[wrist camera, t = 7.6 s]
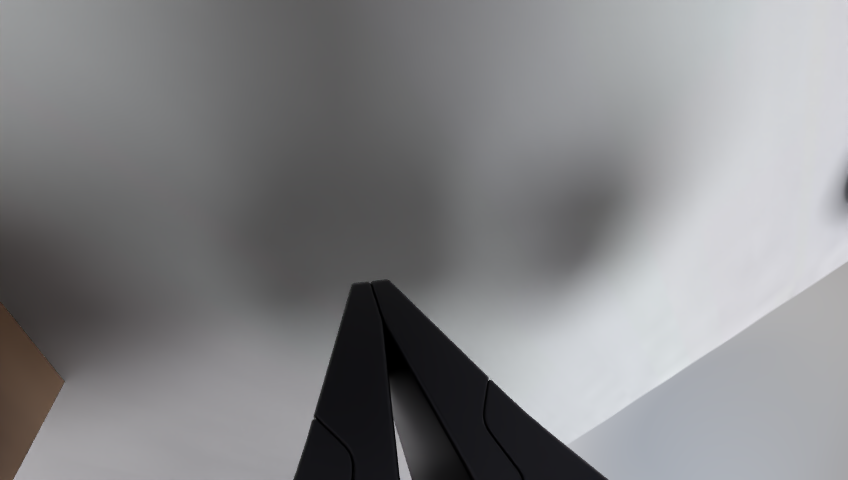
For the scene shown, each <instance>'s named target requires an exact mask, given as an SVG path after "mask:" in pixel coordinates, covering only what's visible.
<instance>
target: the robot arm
mask: <svg viewBox="0 0 848 480" xmlns="http://www.w3.org/2000/svg"><path fill="white" fill-rule="evenodd" d="M488 380H489V378H488V376H487V375H486V374H485V373H484V372H483V371H482V370H481V369H480V368H479V367H478V366H476V365H475V364H474V363H473V362H472V361H471V360H470V359H469V358H468V357H467V356H466V355H465V354H464V353H463V352H462V351H461V350H460V349H459V348H458V347H457V346H456V345H455V344H454V343H453V342H452V341H451V340H450V339H449V338H448V337H447V336H446V335H445V334H444V333H443V332H442V331H441V330H440V329H439V328H438V327H437V326H436V325H435V324H433V323H432V322H431V321H430V320H429V319H428V318H427V317H426V316H425V315H424V314H423V313H422V312H421V311H420V310H419V309H418V308H417V307H416V306H415V305H414V304H413V303H412V302H411V301H410V300H409V299H408V298H407V297H406V296H405V295H404V294H403V293H402V292H401V291H400V290H399V289H398V288H397V287H396V286H395V285H394V284H393V283H392V282H391V281H389V280H387V279H385V280H377V281H372V282H371V284H370V283H369V282H360V283H354V284H352V286H351V289H350V292H349V296H348V299H347V302H346V306H345V309H344V313H343V316H342V320H341V323H340V327H339V330H338V334H337V337H336V341H335V344H334V348H333V351H332V354H331V358H330V361H329V365H328V368H327V372H326V375H325V379H324V382H323V386H322V389H321V393H320V396H319V399H318V403H317V406H316V410H315V413H314V420H312V423H311V426H310V430H309V433H308V437H307V440H306V443H305V446H304V449H303V452H302V456H301V459H300V462H299V465H298V468H297V471H296V474H295V476H294V479H293V480H400V476H399V467H398V457H397V448H396V439H395V429H394V422H395V425H396V428H397V432H398V435H399V438H400V442H401V445H402V448H403V452H404V455H405V458H406V462H407V465H408V468H409V472H410V475H411V478H412V480H608V479H607V478H606V477H604V476H603V475H602V474H601V473H599V472H598V471H597V470H596V469H594V468H593V467H592V466H590V465H589V464H588V463H587V462H586V461H584V460H583V459H582V458H581V457H579V456H578V455H577V454H576V453H574V452H573V451H572V450H571V449H570V448H568V447H567V446H566V445H565V444H563V443H562V442H561V441H560V440H558V439H557V438H556V437H555V436H553V435H552V434H551V433H550V432H548V431H547V430H546V429H545V428H544V427H542V426H541V425H540V424H539V423H538V422H537V421H535V420H534V419H533V418H532V417H531V416H529V415H528V414H527V413H526V412H525V411H524V410H523V409H521V408H520V407H519V406H518V405H517V404H516V403H515V402H514V401H513V400H512V399H511V398H510V397H509V396H507V395H506V394H505V393H504V392H503V391H502V390H501V389H500V388H499V387H498V386H497V385H496V384H495V383H494V382H493V381H492V380H489V381H488ZM393 418H394V420H393Z"/></svg>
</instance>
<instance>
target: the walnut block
mask: <svg viewBox="0 0 848 480" xmlns="http://www.w3.org/2000/svg"><path fill="white" fill-rule="evenodd" d="M63 384H64V380H63V379H62V378H61V377H60V375H59V374H58V373H57V372H56V370H55V369H54V368H53V367H52V365H51V364H50V363H49V362H48V360H47V359H46V358H45V357H44V355H43V354H42V353H41V352H40V350H39V349H38V348H37V347H36V345H35V344H34V343H33V342H32V340H31V339H30V338H29V337H28V335H27V334H26V333H25V332H24V330H23V329H22V328H21V327H20V325H19V324H18V323H17V322H16V320H15V319H14V318H13V317H12V315H11V314H10V313H9V312H8V310H7V309H6V308H5V307H4V305H3V304H2V303H1V302H0V480H13V479H14V477H15V475H16V473H17V471H18V469H19V468H20V466H21V464H22V462H23V460H24V458H25V456H26V454H27V452H28V450H29V449H30V447H31V445H32V443H33V441H34V439H35V437H36V435H37V433H38V431H39V430H40V428H41V426H42V424H43V422H44V420H45V418H46V416H47V414H48V412H49V411H50V409H51V407H52V405H53V403H54V401H55V399H56V397H57V395H58V393H59V392H60V390H61V388H62V386H63Z"/></svg>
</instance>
